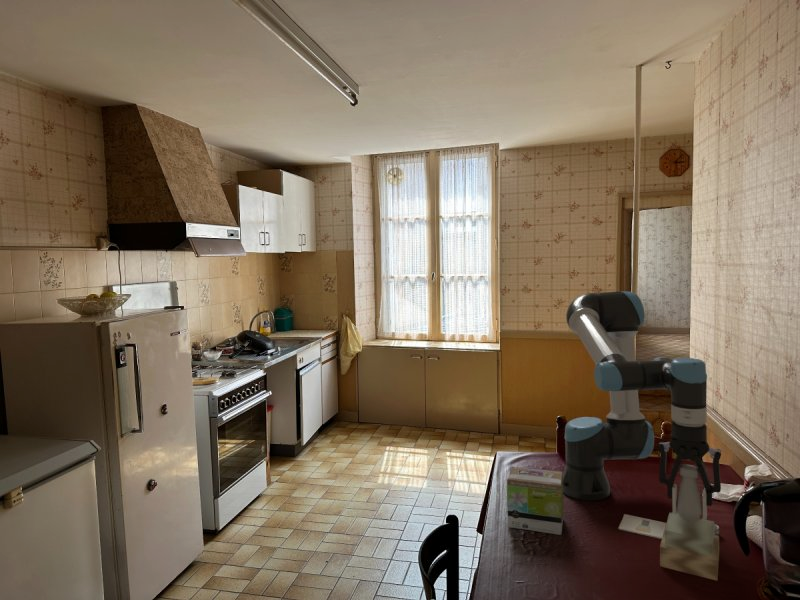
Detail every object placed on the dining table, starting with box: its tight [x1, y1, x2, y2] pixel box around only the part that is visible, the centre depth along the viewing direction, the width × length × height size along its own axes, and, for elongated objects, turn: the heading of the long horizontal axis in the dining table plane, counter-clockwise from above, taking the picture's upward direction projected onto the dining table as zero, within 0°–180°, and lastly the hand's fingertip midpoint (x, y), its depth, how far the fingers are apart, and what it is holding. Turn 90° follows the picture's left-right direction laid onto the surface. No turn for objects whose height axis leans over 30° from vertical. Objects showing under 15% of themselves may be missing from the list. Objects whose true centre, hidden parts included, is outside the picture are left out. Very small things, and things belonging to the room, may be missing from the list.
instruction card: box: [618, 513, 667, 540], centre depth 145 cm, size 12×9×1 cm
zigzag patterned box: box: [659, 512, 720, 581], centre depth 128 cm, size 12×12×9 cm
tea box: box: [506, 466, 564, 536], centre depth 150 cm, size 15×10×15 cm, turn 70°
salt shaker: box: [676, 464, 703, 522], centre depth 127 cm, size 6×6×13 cm
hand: (689, 514), depth 128 cm, fingers closed on salt shaker, 6 cm apart
